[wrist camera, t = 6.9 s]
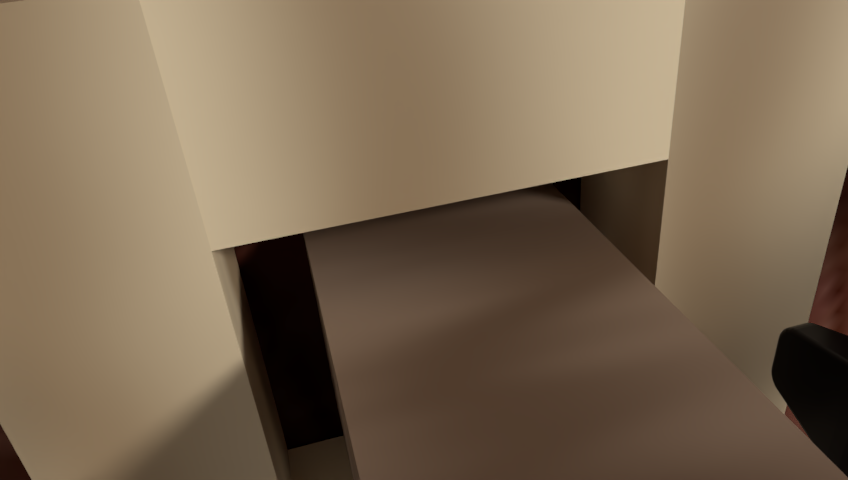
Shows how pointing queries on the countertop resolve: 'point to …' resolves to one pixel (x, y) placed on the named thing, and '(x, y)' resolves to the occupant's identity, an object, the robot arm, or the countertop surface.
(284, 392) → the countertop surface
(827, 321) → the countertop surface
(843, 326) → the countertop surface
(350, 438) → the sliding drawer box
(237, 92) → the square wooden frame
